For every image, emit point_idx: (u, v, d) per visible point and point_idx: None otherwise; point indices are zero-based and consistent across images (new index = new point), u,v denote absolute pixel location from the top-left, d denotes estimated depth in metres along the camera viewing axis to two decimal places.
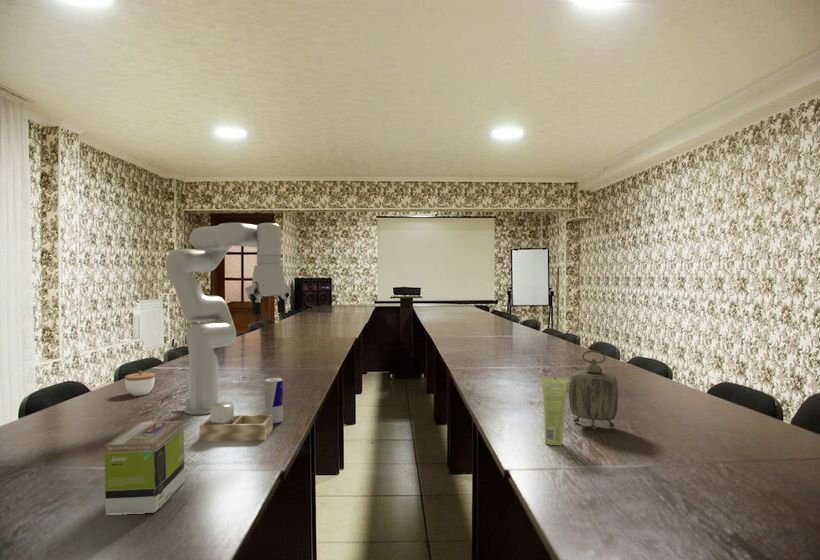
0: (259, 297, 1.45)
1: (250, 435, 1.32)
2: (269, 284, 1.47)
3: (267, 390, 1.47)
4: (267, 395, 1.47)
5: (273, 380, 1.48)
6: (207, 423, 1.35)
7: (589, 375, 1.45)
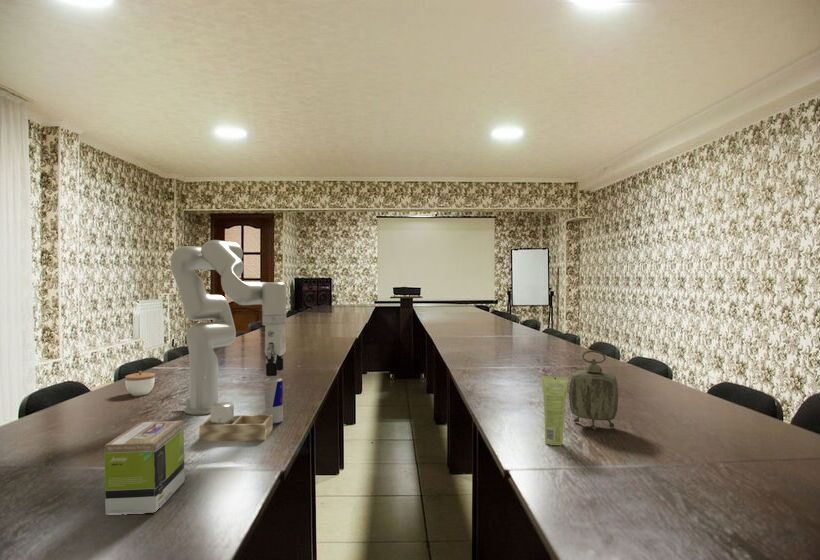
0: None
1: (250, 435, 1.32)
2: None
3: (267, 390, 1.47)
4: (267, 395, 1.47)
5: (273, 380, 1.48)
6: (207, 423, 1.35)
7: (589, 375, 1.45)
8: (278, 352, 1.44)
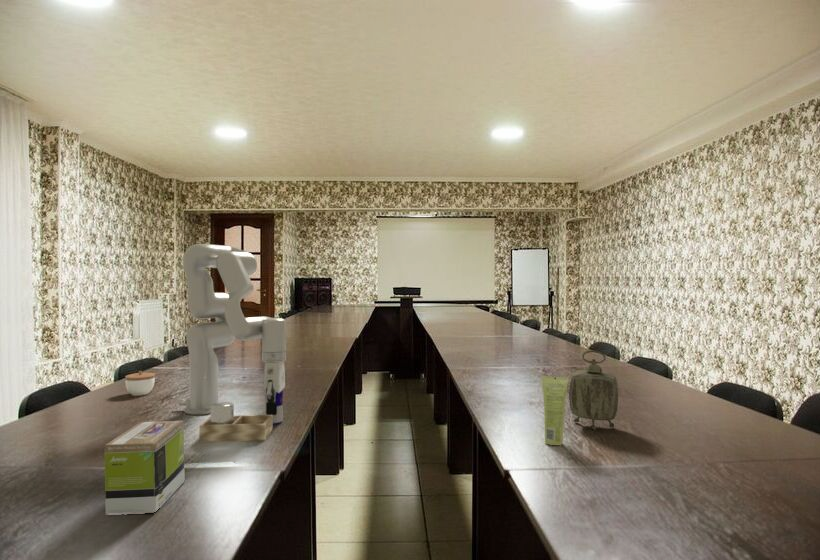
0: None
1: (250, 435, 1.32)
2: None
3: None
4: None
5: None
6: (207, 423, 1.35)
7: (589, 375, 1.45)
8: (277, 390, 1.45)
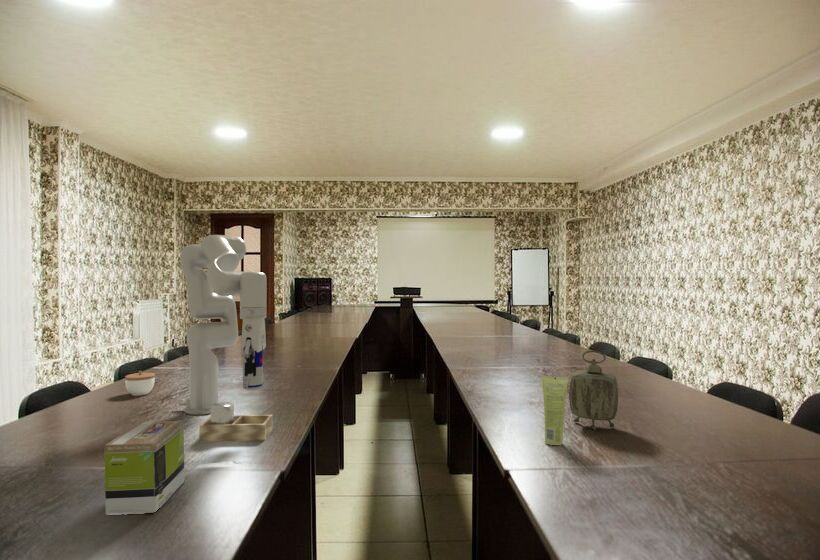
0: None
1: (250, 435, 1.32)
2: None
3: None
4: None
5: None
6: (207, 423, 1.35)
7: (589, 375, 1.45)
8: (256, 348, 1.33)
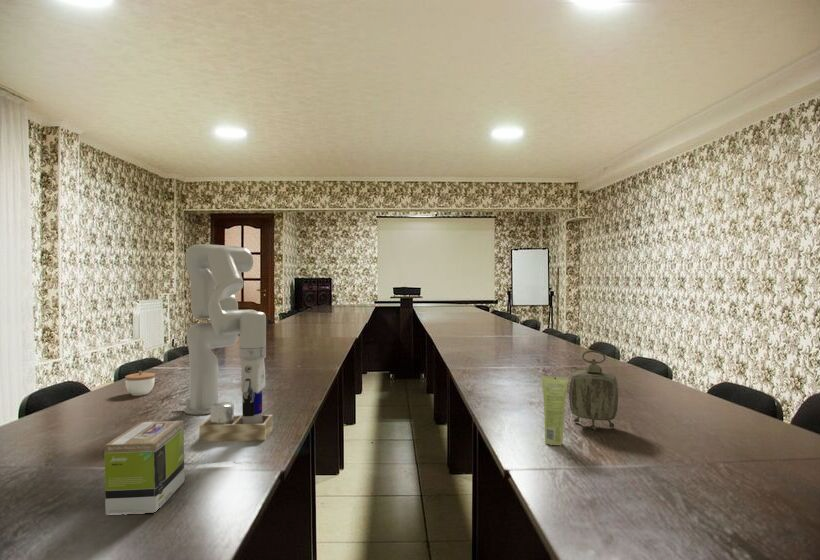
0: None
1: (250, 435, 1.32)
2: None
3: None
4: None
5: None
6: (207, 423, 1.35)
7: (589, 375, 1.45)
8: (255, 389, 1.32)
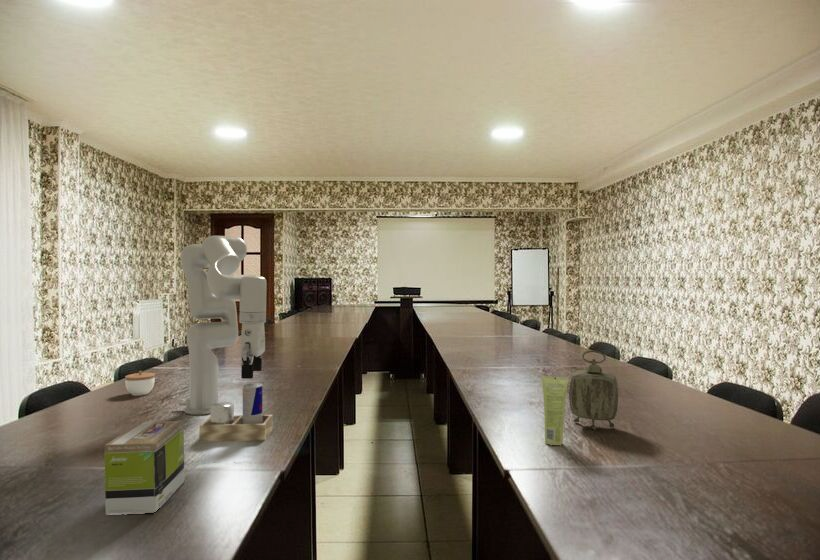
0: None
1: (250, 435, 1.32)
2: None
3: (245, 397, 1.34)
4: (245, 402, 1.34)
5: (252, 386, 1.35)
6: (207, 423, 1.35)
7: (589, 375, 1.45)
8: (255, 353, 1.33)
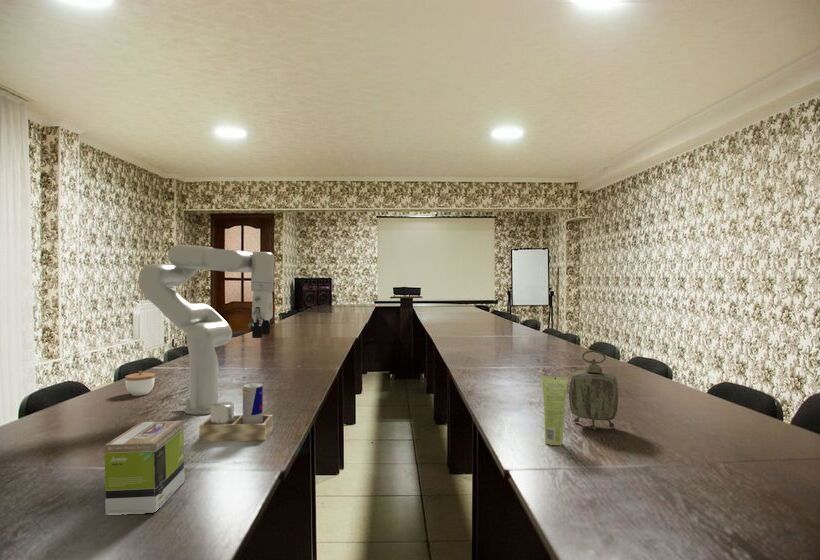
0: None
1: (250, 435, 1.32)
2: None
3: (245, 397, 1.34)
4: (245, 402, 1.34)
5: (252, 386, 1.35)
6: (207, 423, 1.35)
7: (589, 375, 1.45)
8: (264, 316, 1.56)
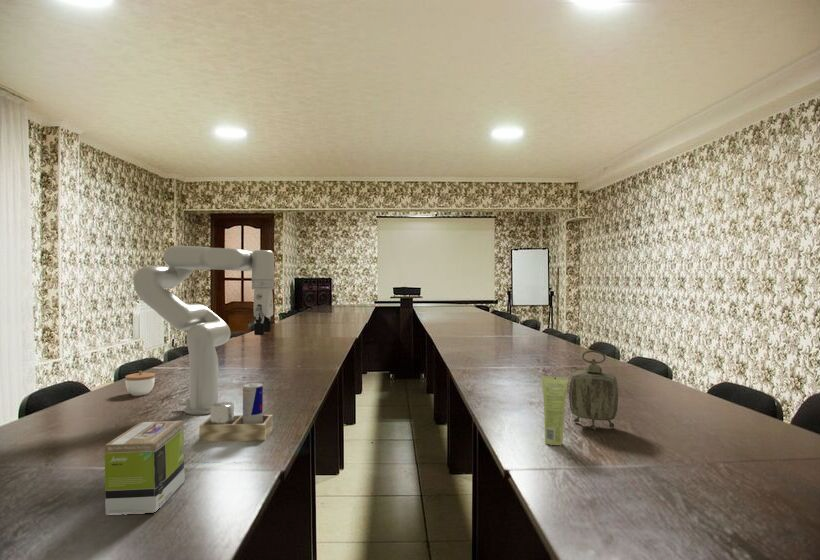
0: None
1: (250, 435, 1.32)
2: None
3: (245, 397, 1.34)
4: (245, 402, 1.34)
5: (252, 386, 1.35)
6: (207, 423, 1.35)
7: (588, 375, 1.45)
8: (265, 313, 1.58)
